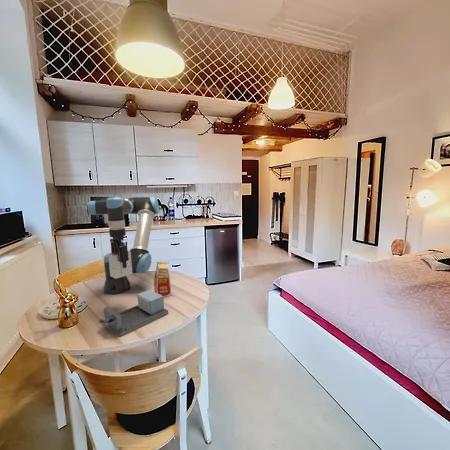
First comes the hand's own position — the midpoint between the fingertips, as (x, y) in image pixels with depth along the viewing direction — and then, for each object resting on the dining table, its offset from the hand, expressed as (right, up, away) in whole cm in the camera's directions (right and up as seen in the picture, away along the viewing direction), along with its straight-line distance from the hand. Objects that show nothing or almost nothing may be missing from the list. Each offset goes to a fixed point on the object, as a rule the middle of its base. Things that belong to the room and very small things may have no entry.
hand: (121, 272), depth 133 cm
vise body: (+10, -21, -11) cm, 26 cm away
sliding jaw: (+17, -17, -4) cm, 24 cm away
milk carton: (+18, -16, +17) cm, 29 cm away
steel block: (0, -1, 0) cm, 1 cm away
